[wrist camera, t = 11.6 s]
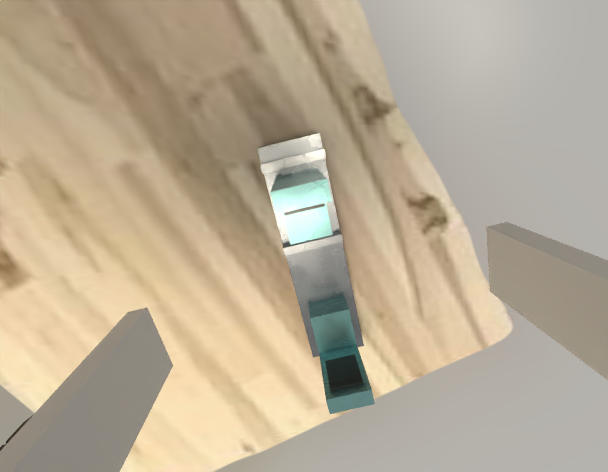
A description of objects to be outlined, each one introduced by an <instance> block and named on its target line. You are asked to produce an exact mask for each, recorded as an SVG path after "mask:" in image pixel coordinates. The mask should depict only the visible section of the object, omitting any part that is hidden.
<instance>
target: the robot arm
mask: <svg viewBox="0 0 608 472" xmlns="http://www.w3.org/2000/svg"><path fill="white" fill-rule="evenodd" d="M487 246H488V263H489V282H490V292H491V293H493V294H494V295H495V296H497V297H498V298H499V299H501V300H502V301H503V302H505V303H506V304H507V305H509V306H510V307H511V308H513V309H514V310H515V311H517V312H518V313H519V314H521V315H522V316H523V317H525V318H526V319H527V320H529V321H530V322H531V323H533V324H534V325H535V326H537V327H538V328H539V329H541V330H542V331H543V332H545V333H546V334H548V336H550V337H551V338H553V339H554V340H555V341H557V342H558V343H559V344H561V345H562V346H563V347H564V348H566V349H567V350H569V351H570V352H571V353H572V354H574V355H575V356H576V357H578V358H579V359H580V360H582V361H583V362H584V363H586V364H587V365H588V366H590V367H591V368H592V369H594V370H595V371H596V372H598V373H599V374H600V375H602V376H603V377H604V378H606V379H607V380H608V260H605V259H603V258H600V257H598V256H595V255H592V254H590V253H587V252H584V251H582V250H579V249H576V248H574V247H571V246H568V245H566V244H563V243H560V242H558V241H555V240H553V239H550V238H547V237H545V236H542V235H539V234H537V233H534V232H531V231H529V230H526V229H524V228H521V227H518V226H516V225H513V224H510V223H508V222H505V223H501V224H497V225H492V226H488V227H487ZM172 366H173V364H172V362H171V360H170V358H169V355H168V353H167V351H166V349H165V346H164V344H163V342H162V340H161V337H160V335H159V333H158V331H157V328H156V326H155V324H154V322H153V319H152V317H151V315H150V313H149V310H148V308H143V309H139V310H135V311H131V312H128V313H127V314H126V315H125V316H124V317H123V318H122V319H121V320H120V321H119V322H118V324H117V325H116V326H115V327H114V328H113V329H112V330H111V331H110V332H109V333H108V334H107V335H106V337H105V338H104V339H103V340H102V341H101V342H100V343H99V344H98V345H97V346H96V347H95V349H94V350H93V351H92V352H91V353H90V354H89V355H88V356H87V357H86V358H85V359H84V360H83V362H82V363H81V364H80V365H79V366H78V367H77V368H76V369H75V370H74V371H73V372H72V374H71V375H70V376H69V377H68V378H67V379H66V380H65V381H64V382H63V383H62V384H61V386H60V387H59V388H58V389H57V390H56V391H55V392H54V393H53V394H52V395H51V396H50V397H49V399H48V400H47V401H46V402H45V403H44V404H43V405H42V406H41V407H40V408H39V409H38V411H37V412H36V413H35V414H34V415H32V416H31V417H30V418H29V419H27V420H26V421H25V422H24V423H23V424H22V425H21V426H20V427H19V428H18V429H17V430H16V431H15V432H14V433H13V434H12V436H11V437H10V438H9V439H8V440H7V441H6V444H5V445H2V446H1V447H0V472H120V470H121V468H122V466H123V464H124V462H125V460H126V458H127V456H128V454H129V452H130V450H131V448H132V446H133V444H134V442H135V440H136V438H137V436H138V434H139V432H140V430H141V428H142V426H143V424H144V422H145V420H146V418H147V416H148V414H149V412H150V410H151V408H152V406H153V404H154V402H155V400H156V398H157V396H158V394H159V392H160V390H161V388H162V386H163V384H164V382H165V380H166V378H167V376H168V374H169V372H170V370H171V368H172Z"/></svg>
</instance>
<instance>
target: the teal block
mask: <svg viewBox="0 0 608 472" xmlns="http://www.w3.org/2000/svg"><path fill="white" fill-rule="evenodd" d="M270 193H271V197H272V201H273V204H274V208H275V212H276V214H280V213H282V214H283V217H284V221H285V225H286V229H287V233H288V237H289V240H290V244H291V245H292V244H296V243H300V242H304V241H308V240H313V239H317V238H321V237H325V236H329V235H333V233H332V229H331V224H330V219H329V215H328V210H327V205H326V202H330V201H332V199H331V194H330V189H329V184H328V179H327V178H326V177H325V176H324V175H323V174H322V173H321V172H320V171H319V170H318V169H317V168H316V167H315V168H311V169H307V170H303V171H299V172H295V173H291V174H286V175H282V176H278V177H275V180H274V183H273V186H272V189H271V192H270Z"/></svg>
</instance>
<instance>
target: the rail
mask: <svg viewBox="0 0 608 472" xmlns="http://www.w3.org/2000/svg"><path fill="white" fill-rule="evenodd" d="M257 150H258V154H259V158H260V161H261V164H260V166H261V170H262V174H263V173H264V176H265V180H266V184H267V187H268V191H269V195H270V198H271V202H272V206H273V210H274V213H275V217H276V221H277V224H278V228H279V232H280V236H281V239H282V243H283V251H284V255H285V256H286V258H287V262H288V265H289V269H290V273H291V276H292V280H293V284H294V288H295V291H296V295H297V299H298V302H299V306H300V310H301V313H302V317H303V321H304V325H305V328H306V332H307V336H308V339H309V343H310V347H311V351H312V354H313V357H317V356H320V361H321V368H322V375H323V382H324V389H325V396H326V401H327V405H328V409H329V412H330V414H332V413H337V412H341V411H346V410H350V409H355V408H359V407H363V406H367V405H372V404H374V399H373V394H372V389H371V386H370V383H369V380H368V377H367V374H366V371H365V368H364V365H363V362H362V359H361V356H360V353H359V351H358V348H357V347H360V346H364V344H363V340H362V335H361V330H360V325H359V320H358V315H357V311H356V306H355V301H354V296H353V291H352V286H351V282H350V277H349V272H348V267H347V262H346V258H345V253H344V248H343V243H342V242H343V237H342V234H341V232H340V229H339V224H338V219H337V214H336V209H335V204H334V200H333V195H332V190H331V185H330V180H329V175H328V171H327V166H326V161H325V158H326V154H325V150H324V149H323V146H322V142H321V137H320V133H317V134H313V135H309V136H305V137H301V138H297V139H293V140H289V141H285V142H281V143H277V144H272V145H268V146H264V147H260V148H257ZM315 167H316V168H317V169H318V170H319V171H320V172H321V173H322V174H323V175H324V176H325V177H326V178H327V179H328V184H329V189H330V194H331V199H332V201H330V202H326V205H327V210H328V215H329V219H330V224H331V229H332V233H333V235H329V236H325V237H321V238H317V239H313V240H308V241H304V242H300V243H296V244H292V245H291V244H290V240H289V237H288V233H287V229H286V225H285V221H284V217H283V214H282V213H280V214H276V212H275V208H274V204H273V201H272V197H271V193H270V192H271V189H272V186H273V183H274V180H275V177H278V176H282V175H286V174H291V173H295V172H299V171H303V170H307V169H311V168H315Z"/></svg>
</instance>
